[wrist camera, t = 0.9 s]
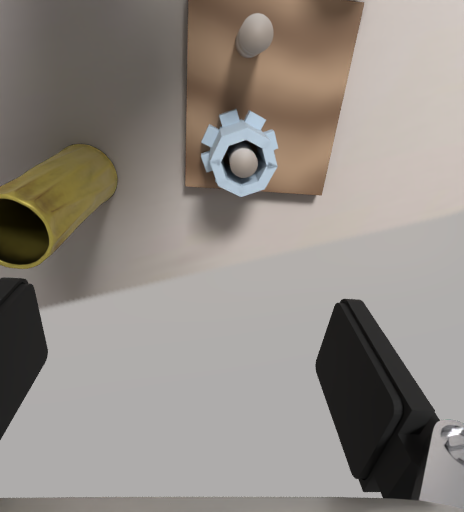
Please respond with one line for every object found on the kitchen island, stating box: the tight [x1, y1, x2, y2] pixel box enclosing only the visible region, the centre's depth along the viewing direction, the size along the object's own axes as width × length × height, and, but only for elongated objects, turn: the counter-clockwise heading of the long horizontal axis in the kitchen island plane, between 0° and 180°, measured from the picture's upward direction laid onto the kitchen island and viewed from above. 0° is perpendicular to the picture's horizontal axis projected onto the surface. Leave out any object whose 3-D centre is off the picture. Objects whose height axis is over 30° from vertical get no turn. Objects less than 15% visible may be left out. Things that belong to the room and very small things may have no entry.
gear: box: [201, 109, 278, 197], centre depth 28 cm, size 7×7×6 cm
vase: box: [0, 144, 117, 269], centre depth 27 cm, size 6×6×14 cm
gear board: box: [185, 0, 364, 195], centre depth 27 cm, size 16×14×8 cm
